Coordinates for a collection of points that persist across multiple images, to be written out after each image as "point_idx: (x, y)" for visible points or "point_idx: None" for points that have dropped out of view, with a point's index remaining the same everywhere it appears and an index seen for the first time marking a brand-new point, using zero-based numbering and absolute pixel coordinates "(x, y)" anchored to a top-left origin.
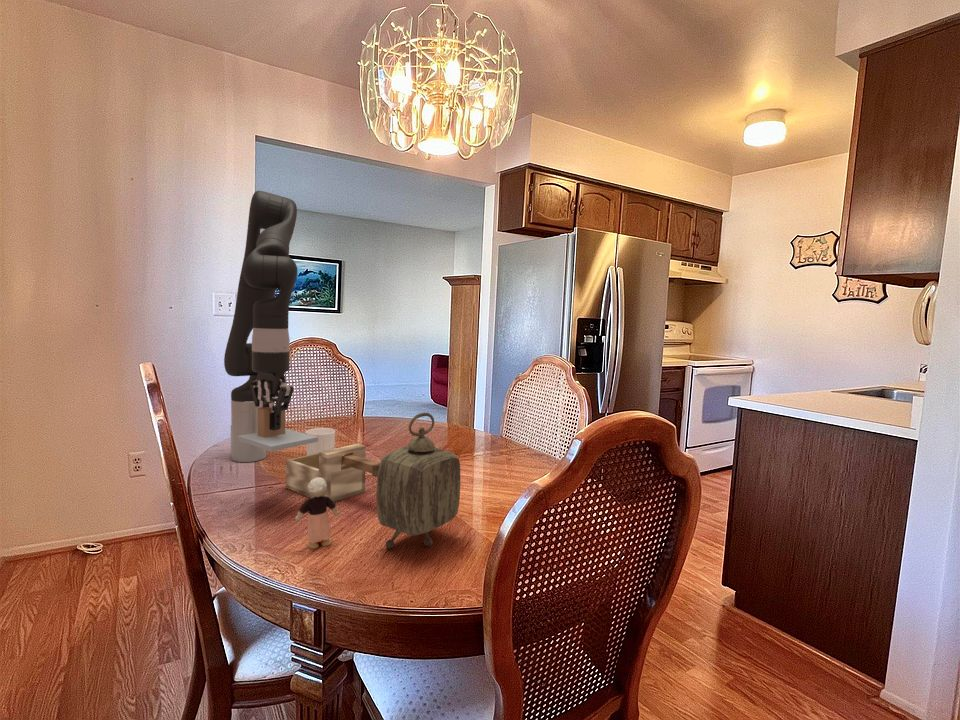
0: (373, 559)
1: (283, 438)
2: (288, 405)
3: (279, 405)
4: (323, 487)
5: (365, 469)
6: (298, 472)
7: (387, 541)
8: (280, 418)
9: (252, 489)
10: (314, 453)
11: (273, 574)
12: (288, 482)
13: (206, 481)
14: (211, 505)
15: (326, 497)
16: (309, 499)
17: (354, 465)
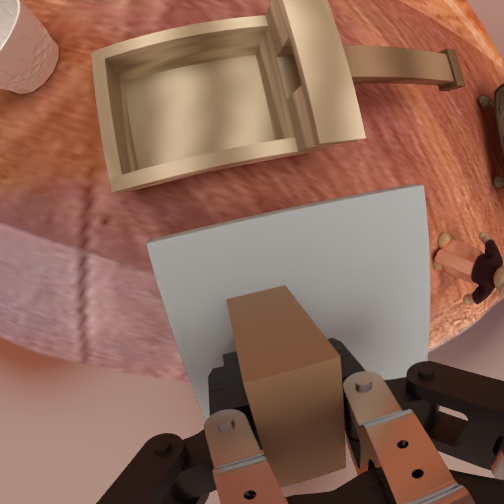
0: (499, 214)
1: (365, 318)
2: (460, 370)
3: (455, 423)
4: None
5: (419, 82)
6: (186, 174)
7: (502, 186)
8: (357, 361)
9: (99, 263)
10: (25, 71)
11: (459, 327)
12: (142, 187)
13: (14, 325)
14: (162, 360)
15: (502, 261)
16: (492, 290)
17: (384, 81)
